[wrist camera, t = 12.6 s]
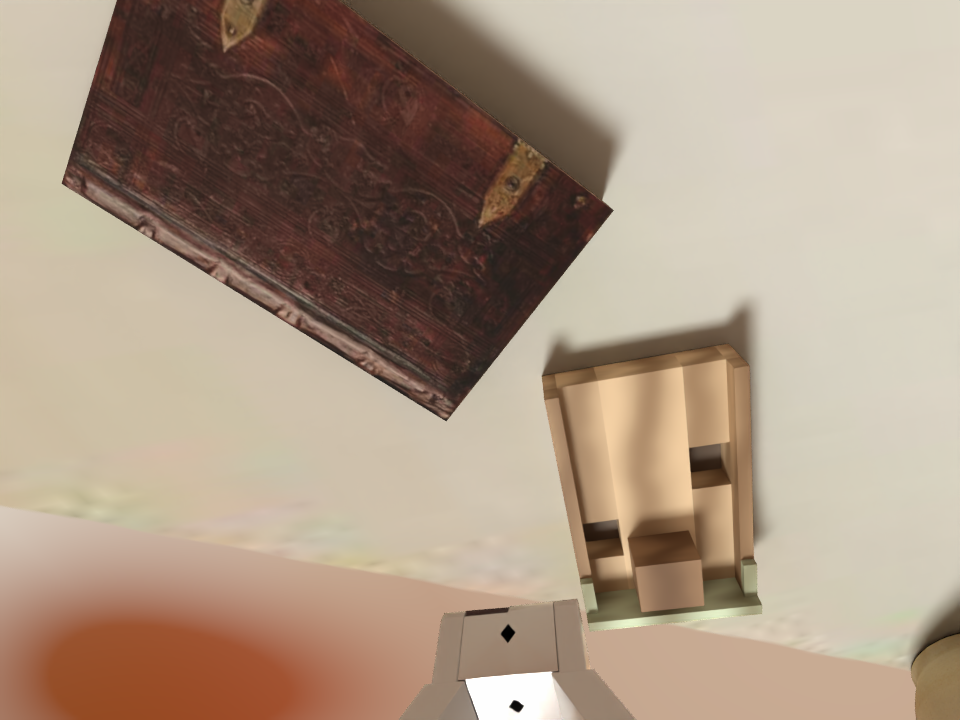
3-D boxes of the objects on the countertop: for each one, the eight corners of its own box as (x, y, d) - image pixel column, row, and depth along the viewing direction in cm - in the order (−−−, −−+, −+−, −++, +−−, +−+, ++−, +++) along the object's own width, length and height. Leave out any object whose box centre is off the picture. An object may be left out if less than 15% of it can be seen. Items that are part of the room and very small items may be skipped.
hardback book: (110, 180, 38) (55, 188, 33) (211, -100, 31) (158, -138, 26) (450, 394, 43) (443, 427, 39) (601, 199, 36) (613, 210, 32)
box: (728, 343, 39) (758, 375, 34) (736, 563, 48) (762, 613, 43) (541, 375, 41) (545, 410, 36) (582, 581, 50) (589, 631, 45)
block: (688, 530, 44) (701, 559, 41) (692, 574, 46) (704, 605, 43) (627, 537, 44) (635, 567, 42) (633, 581, 46) (641, 612, 43)
